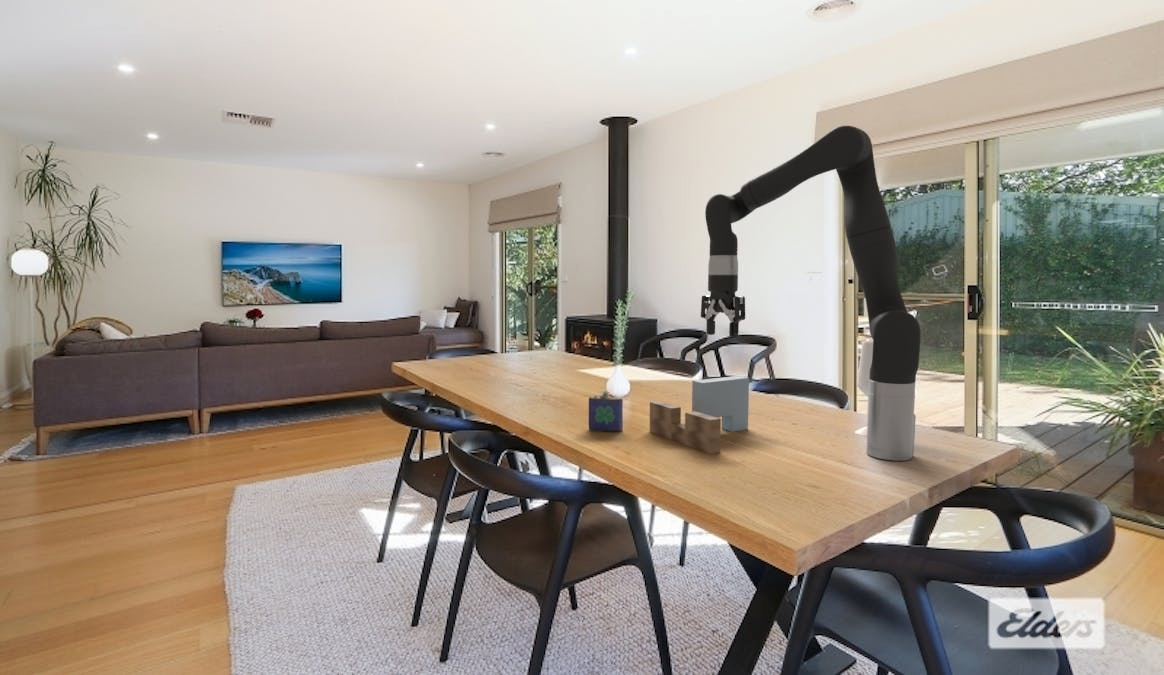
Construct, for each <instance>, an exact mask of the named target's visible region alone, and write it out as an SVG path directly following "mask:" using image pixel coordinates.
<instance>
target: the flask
mask: <svg viewBox="0 0 1164 675" xmlns="http://www.w3.org/2000/svg"><path fill="white" fill-rule="evenodd" d="M602 393H603V394H602V395H599V394H598V395H596V394H595V395H594V396H590V397H589V398H588V431H591V432H600V433H601V432H603V433H604V432H607V433H608V432H609V433H613V432H614V433H620V432H623V430H624V424H623V423H624V421H623V420H624V419H623V418H624V416H623V415H624V414H623V411H624V410H623V403H624V402H623V401H624V400H623V398H622V397H609V391H602Z"/></svg>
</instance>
